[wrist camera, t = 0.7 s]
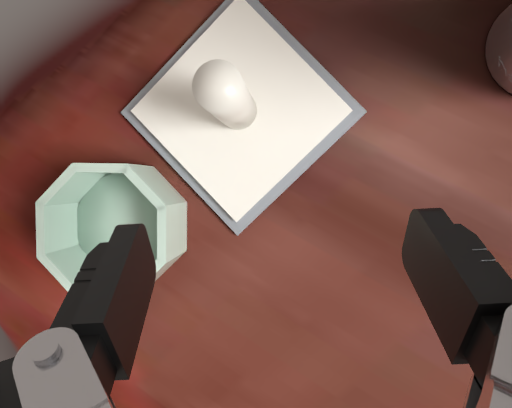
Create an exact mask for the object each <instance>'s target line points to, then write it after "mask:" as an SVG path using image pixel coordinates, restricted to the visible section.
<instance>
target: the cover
mask: <svg viewBox="0 0 512 408" xmlns="http://www.w3.org/2000/svg"><path fill="white" fill-rule="evenodd" d="M352 111H353V110H352V109H351V108H350V107H349V106H348V105H347V104H346V103H345V102H344V101H343V100H342V99H341V98H340V97H339V96H338V95H337V93H336V92H335V91H334V90H333V89H332V88H331V87H330V86H329V85H328V84H327V83H326V82H325V81H324V80H323V79H322V78H321V77H320V76H319V75H318V74H317V73H316V72H315V71H314V70H313V69H312V68H311V67H310V66H309V65H308V64H307V63H306V62H305V61H304V60H303V59H302V58H301V57H300V56H299V55H298V54H297V53H296V52H295V51H294V50H293V49H292V48H291V46H290V45H289V44H288V43H287V42H286V41H285V40H284V39H283V38H282V37H281V36H280V35H279V34H278V33H277V32H276V31H275V30H274V29H273V28H272V27H271V26H270V25H269V24H268V23H267V22H266V21H265V20H264V19H263V18H262V17H261V16H260V15H259V14H258V13H257V12H256V11H255V10H254V9H253V8H252V7H251V6H250V5H249V4H248V3H247V2H246V1H245V0H234V1H233V2H232V3H231V4H230V5H229V6H228V7H227V9H226V10H225V11H224V12H223V13H222V14H221V15H220V16H219V17H218V18H217V19H216V20H215V21H214V22H213V23H212V25H211V26H210V27H209V28H208V29H207V30H206V31H205V32H204V33H203V34H202V35H201V36H200V37H199V38H198V39H197V41H196V42H195V43H194V44H193V45H192V46H191V47H190V48H189V49H188V50H187V51H186V52H185V53H184V54H183V55H182V57H181V58H180V59H179V60H178V61H177V62H176V63H175V64H174V65H173V66H172V67H171V68H170V69H169V70H168V71H167V73H166V74H165V75H164V76H163V77H162V78H161V79H160V80H159V81H158V82H157V83H156V84H155V85H154V86H153V87H152V89H151V90H150V91H149V92H148V93H147V94H146V95H145V96H144V97H143V98H142V99H141V100H140V101H139V102H138V103H137V105H136V106H135V107H134V108H133V109H132V110H131V112H132V113H133V114H134V115H135V116H136V117H137V118H138V119H139V120H140V121H141V122H142V124H143V125H144V126H145V127H146V128H147V129H148V130H149V131H150V132H151V133H152V134H153V135H154V136H155V137H156V138H157V139H158V140H159V141H160V142H161V144H162V145H163V146H164V147H165V148H166V149H167V150H168V151H169V152H170V153H171V154H172V155H173V156H174V157H175V158H176V159H177V160H178V161H179V162H180V164H181V165H182V166H183V167H184V168H185V169H186V170H187V171H188V172H189V173H190V174H191V175H192V176H193V177H194V178H195V179H196V180H197V181H198V182H199V184H200V185H201V186H202V187H203V188H204V189H205V190H206V191H207V192H208V193H209V194H210V195H211V196H212V197H213V198H214V199H215V200H216V201H217V202H218V204H219V205H220V206H221V207H222V208H223V209H224V210H225V211H226V212H227V213H228V214H229V215H230V216H231V217H232V218H233V219H234V220H235V221H236V222H238V221H239V220H240V219H241V218H242V217H243V216H244V215H245V214H246V213H247V212H248V211H249V210H250V209H251V208H252V207H253V206H254V205H255V204H256V203H257V202H258V201H259V200H260V199H261V198H263V197H264V196H265V195H266V194H267V193H268V192H269V191H270V190H271V189H272V188H273V187H274V186H275V185H276V184H277V183H278V182H279V181H280V180H281V179H282V178H283V177H284V176H285V175H286V174H287V173H288V172H290V171H291V170H292V169H293V168H294V167H295V166H296V165H297V164H298V163H299V162H300V161H301V160H302V159H303V158H304V157H305V156H306V155H307V154H308V153H309V152H310V151H311V150H312V149H313V148H314V147H315V146H317V145H318V144H319V143H320V142H321V141H322V140H323V139H324V138H325V137H326V136H327V135H328V134H329V133H330V132H331V131H332V130H333V129H334V128H335V127H336V126H337V125H338V124H339V123H340V122H341V121H342V120H344V119H345V118H346V117H347V116H348V115H349V114H350V113H351V112H352Z"/></svg>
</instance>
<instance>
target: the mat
mask: <svg viewBox="0 0 512 408" xmlns="http://www.w3.org/2000/svg"><path fill="white" fill-rule="evenodd" d="M233 1H234V0H225V1H224V2H223V3H222V4H221V5H220V7H219V8H218V9H217V10H216V11H215V12H214V13H213V14H212V15H211V16H210V17H209V18H208V19H207V20H206V21H205V23H204V24H203V25H202V26H201V27H200V28H199V29H198V30H197V31H196V32H195V33H194V34H193V35H192V36H191V38H190V39H189V40H188V41H187V42H186V43H185V44H184V45H183V46H182V47H181V48H180V49H179V50H178V51H177V53H176V54H175V55H174V56H173V57H172V58H171V59H170V60H169V61H168V62H167V63H166V64H165V65H164V66H163V68H162V69H161V70H160V71H159V72H158V73H157V74H156V75H155V76H154V77H153V78H152V79H151V80H150V81H149V83H148V84H147V85H146V86H145V87H144V88H143V89H142V90H141V91H140V92H139V93H138V94H137V95H136V96H135V98H134V99H133V100H132V101H131V102H130V103H129V104H128V105H127V106H126V107H125V108H124V109H123V110H122V111H121V113H122V115H123V116H124V117H125V118H126V119H127V120H128V121H129V122H130V123H131V124H132V125H133V126H134V127H135V128H136V129H137V130H138V131H139V132H140V133H141V135H142V136H143V137H144V138H145V139H146V140H147V141H148V142H149V143H150V144H151V145H152V146H153V147H154V148H155V149H156V150H157V151H158V152H159V154H160V155H161V156H162V157H163V158H164V159H165V160H166V161H167V162H168V163H169V164H170V165H171V166H172V167H173V168H174V169H175V170H176V171H177V172H178V174H179V175H180V176H181V177H182V178H183V179H184V180H185V181H186V182H187V183H188V184H189V185H190V186H191V187H192V188H193V189H194V190H195V191H196V193H197V194H198V195H199V196H200V197H201V198H202V199H203V200H204V201H205V202H206V203H207V204H208V205H209V206H210V207H211V208H212V209H213V210H214V211H215V213H216V214H217V215H218V216H219V217H220V218H221V219H222V220H223V221H224V222H225V223H226V224H227V225H228V226H229V227H230V228H231V229H232V230H233V231H234V233H235V234H236V235H237V236H238V235H239V234H240V233H241V232H242V231H243V230H244V229H245V228H246V227H247V226H248V225H249V224H250V223H251V222H252V221H253V220H254V219H256V218H257V217H258V216H259V215H260V214H261V213H262V212H263V211H264V210H265V209H266V208H267V207H268V206H269V205H270V204H271V203H272V202H273V201H274V200H275V199H276V198H277V197H279V196H280V195H281V194H282V193H283V192H284V191H285V190H286V189H287V188H288V187H289V186H290V185H291V184H292V183H293V182H294V181H295V180H296V179H297V178H298V177H299V176H300V175H302V174H303V173H304V172H305V171H306V170H307V169H308V168H309V167H310V166H311V165H312V164H313V163H314V162H315V161H316V160H317V159H318V158H319V157H320V156H321V155H322V154H323V153H325V152H326V151H327V150H328V149H329V148H330V147H331V146H332V145H333V144H334V143H335V142H336V141H337V140H338V139H339V138H340V137H341V136H342V135H343V134H344V133H345V132H346V131H348V130H349V129H350V128H351V127H352V126H353V125H354V124H355V123H356V122H357V121H358V120H359V119H360V118H361V117H362V116H363V115H364V114H365V113H366V112H367V111H366V110H365V109H364V108H363V107H362V106H361V105H360V104H359V103H358V102H357V101H356V100H355V99H354V98H353V97H352V96H351V95H350V94H349V93H348V92H347V91H346V90H345V89H344V88H343V87H342V86H341V85H340V84H339V83H338V82H337V81H336V80H335V78H334V77H333V76H332V75H331V74H330V73H329V72H328V71H327V70H326V69H325V68H324V67H323V66H322V65H321V64H320V63H319V62H318V61H317V60H316V59H315V58H314V57H313V56H312V55H311V54H310V53H309V52H308V51H307V50H306V49H305V48H304V47H303V46H302V45H301V44H300V43H299V42H298V41H297V40H296V39H295V38H294V37H293V36H292V35H291V34H290V33H289V32H288V31H287V30H286V29H285V28H284V26H283V25H282V24H281V23H280V22H279V21H278V20H277V19H276V18H275V17H274V16H273V15H272V14H271V13H270V12H269V11H268V10H267V9H266V8H265V7H264V6H263V5H262V4H261V3H260V2H259V1H258V0H245V1H246V2H247V3H248V4H249V5H250V6H251V7H252V8H253V9H254V10H255V11H256V12H257V13H258V14H259V15H260V16H261V17H262V18H263V19H264V20H265V21H266V22H267V23H268V24H269V25H270V26H271V27H272V28H273V29H274V30H275V31H276V32H277V33H278V34H279V35H280V36H281V37H282V38H283V39H284V40H285V41H286V42H287V43H288V44H289V45H290V46H291V48H292V49H293V50H294V51H295V52H296V53H297V54H298V55H299V56H300V57H301V58H302V59H303V60H304V61H305V62H306V63H307V64H308V65H309V66H310V67H311V68H312V69H313V70H314V71H315V72H316V73H317V74H318V75H319V76H320V77H321V78H322V79H323V80H324V81H325V82H326V83H327V84H328V85H329V86H330V87H331V88H332V89H333V90H334V91H335V92H336V93H337V95H338V96H339V97H340V98H341V99H342V100H343V101H344V102H345V103H346V104H347V105H348V106H349V107H350V108H351V109H352V110H353V111H352V112H351V113H350V114H349V115H348V116H347V117H346V118H345V119H344V120H342V121H341V122H340V123H339V124H338V125H337V126H336V127H335V128H334V129H333V130H332V131H331V132H330V133H329V134H328V135H327V136H326V137H325V138H324V139H323V140H322V141H321V142H320V143H319V144H318V145H317V146H315V147H314V148H313V149H312V150H311V151H310V152H309V153H308V154H307V155H306V156H305V157H304V158H303V159H302V160H301V161H300V162H299V163H298V164H297V165H296V166H295V167H294V168H293V169H292V170H291V171H290V172H288V173H287V174H286V175H285V176H284V177H283V178H282V179H281V180H280V181H279V182H278V183H277V184H276V185H275V186H274V187H273V188H272V189H271V190H270V191H269V192H268V193H267V194H266V195H265V196H264V197H263V198H261V199H260V200H259V201H258V202H257V203H256V204H255V205H254V206H253V207H252V208H251V209H250V210H249V211H248V212H247V213H246V214H245V215H244V216H243V217H242V218H241V219H240V220H239V221H238V222H236V221H235V220H234V219H233V218H232V217H231V216H230V215H229V214H228V213H227V212H226V211H225V210H224V209H223V208H222V207H221V206H220V205H219V204H218V202H217V201H216V200H215V199H214V198H213V197H212V196H211V195H210V194H209V193H208V192H207V191H206V190H205V189H204V188H203V187H202V186H201V185H200V184H199V182H198V181H197V180H196V179H195V178H194V177H193V176H192V175H191V174H190V173H189V172H188V171H187V170H186V169H185V168H184V167H183V166H182V165H181V164H180V162H179V161H178V160H177V159H176V158H175V157H174V156H173V155H172V154H171V153H170V152H169V151H168V150H167V149H166V148H165V147H164V146H163V145H162V144H161V142H160V141H159V140H158V139H157V138H156V137H155V136H154V135H153V134H152V133H151V132H150V131H149V130H148V129H147V128H146V127H145V126H144V125H143V124H142V122H141V121H140V120H139V119H138V118H137V117H136V116H135V115H134V114H133V113H132V112H131V110H132V109H133V108H134V107H135V106H136V105H137V103H138V102H139V101H140V100H141V99H142V98H143V97H144V96H145V95H146V94H147V93H148V92H149V91H150V90H151V89H152V87H153V86H154V85H155V84H156V83H157V82H158V81H159V80H160V79H161V78H162V77H163V76H164V75H165V74H166V73H167V71H168V70H169V69H170V68H171V67H172V66H173V65H174V64H175V63H176V62H177V61H178V60H179V59H180V58H181V57H182V55H183V54H184V53H185V52H186V51H187V50H188V49H189V48H190V47H191V46H192V45H193V44H194V43H195V42H196V41H197V39H198V38H199V37H200V36H201V35H202V34H203V33H204V32H205V31H206V30H207V29H208V28H209V27H210V26H211V25H212V23H213V22H214V21H215V20H216V19H217V18H218V17H219V16H220V15H221V14H222V13H223V12H224V11H225V10H226V9H227V7H228V6H229V5H230V4H231V3H232V2H233Z"/></svg>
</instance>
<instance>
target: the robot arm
mask: <svg viewBox="0 0 512 408" xmlns="http://www.w3.org/2000/svg"><path fill="white" fill-rule="evenodd" d="M485 57H486V61H487V66H488V68H489V71H490V73H491V75H492V77H493V78H494V79H495V81H496V82H497V83H498V84H499V85H500V86H501V87H502V88H503V89H505V90H506V91H507V92H509V93H511V94H512V4H511V5H510V6H509V7H507V8H506V9H505V10H504V11H503V12H502V13H501V14H500V15H499V16H498V18H497V19H496V20H495V22H494V23H493V25H492V27H491V29H490V31H489V34H488V37H487V41H486V55H485ZM402 260H403V264H404V267H405V270H406V272H407V274H408V276H409V278H410V280H411V282H412V284H413V286H414V288H415V290H416V292H417V294H418V296H419V298H420V300H421V302H422V304H423V306H424V308H425V310H426V312H427V314H428V317H429V319H430V321H431V323H432V325H433V327H434V329H435V331H436V333H437V335H438V337H439V339H440V341H441V343H442V345H443V347H444V349H445V351H446V353H447V355H448V357H449V359H450V361H451V363H452V364H469V365H470V367H471V369H472V370H473V372H474V373H473V374H472V376H471V379H470V382H469V386H468V390H467V393H466V397H465V401H464V405H463V408H512V279H511V278H510V277H509V276H508V274H507V273H506V272H505V271H504V269H503V268H502V267H501V265H500V264H499V263H498V262H496V261H495V258H494V257H493V255H492V254H491V253H490V252H489V251H487V248H486V247H485V245H484V244H483V243H482V241H481V240H480V239H479V238H478V236H477V235H476V234H474V233H473V232H471V231H470V230H468V229H467V228H466V227H464V226H463V225H461V224H453V223H452V221H451V220H450V218H449V217H448V216H447V214H446V213H445V212H444V210H443V209H441V208H427V209H414V210H412V212H411V214H410V217H409V221H408V225H407V230H406V234H405V238H404V242H403V247H402ZM155 279H156V263H155V258H154V255H153V251H152V248H151V244H150V241H149V237H148V234H147V230H146V227H145V225H144V224H142V223H141V224H123V225H117V226H116V227H115V229H114V231H113V233H112V235H111V237H110V240H109V242H103V243H99V244H98V245H97V246H96V247H95V248H94V249H93V250H92V251H91V252H89V253H88V254H87V256H86V258H85V260H84V262H83V263H82V265H81V267H80V272H78V273H77V275H76V277H75V279H74V284H72V285H71V287H70V289H69V291H68V293H67V295H66V297H65V299H64V301H63V303H62V305H61V307H60V309H59V311H58V313H57V315H56V317H55V319H54V321H53V323H52V325H51V327H50V329H48V330H45V331H43V332H41V333H39V334H37V335H36V336H34V337H33V338H31V339H30V340H29V341H28V342H26V343H25V344H24V345H23V346H22V348H21V349H20V350H19V351H18V353H17V354H16V356H15V357H13V358H11V359H8V360H5V361H2V362H0V408H116V406H115V404H114V402H113V400H112V398H111V396H110V394H111V390H112V387H113V384H114V380H129V377H130V374H131V370H132V366H133V362H134V359H135V355H136V351H137V347H138V344H139V340H140V336H141V332H142V328H143V325H144V321H145V317H146V313H147V310H148V306H149V302H150V298H151V294H152V291H153V287H154V283H155Z"/></svg>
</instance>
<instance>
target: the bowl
mask: <svg viewBox="0 0 512 408" xmlns="http://www.w3.org/2000/svg"><path fill="white" fill-rule="evenodd" d="M35 206H36V258H37V259H38V260H39V261H40V262H41V263H42V264H43V265H44V266H45V267H46V268H47V270H48V271H49V272H50V273H51V274H52V275H53V276H54V277H55V278H56V279H57V280H58V281H59V283H60V284H61V285H62V286H63V287H64V288H65V289H66V290H67V291H69V289H70V287H71V285H72V284H74V279H75V277H76V275H77V273H78V272H80V267H81V265H82V263H83V262H84V260H85V258H86V256H87V254H88V253H89V252H91V251H92V250H93V249H94V248H95V247H96V246H97V245H98V244H99V243H103V242H109V240H110V237H111V235H112V233H113V231H114V229H115V227H116V226H117V225H123V224H141V223H142V224H144V225H145V227H146V230H147V234H148V237H149V241H150V244H151V248H152V251H153V255H154V258H155V263H156V279H155V281H156V280H157V279H158V278H159V277H160V276H161V275H162V274H163V273H164V272H165V271H166V270H167V269H168V268H169V267H170V266H171V265H172V264H173V263H174V262H175V261H176V260H177V259H178V258H179V257H180V256H181V255H183V254H184V253H185V252H186V251H187V201H186V200H185V199H184V198H183V197H182V196H181V195H180V194H179V193H178V192H177V191H176V190H175V189H174V187H173V186H172V185H171V184H170V183H169V182H168V181H167V180H166V179H165V178H164V177H163V176H162V175H161V174H160V173H159V172H158V171H157V170H156V168H155V167H154V166H146V165H136V164H127V163H126V164H121V163H72V164H71V165H70V166H69V167H68V168H67V169H66V170H65V171H64V172H63V173H62V174H61V175H60V176H59V177H58V179H57V180H56V181H55V182H54V183H53V184H52V185H51V186H50V187H49V188H48V189H47V190H46V191H45V192H44V194H43V195H42V196H41V197H40V198H39V199H38V200H37V201H36V202H35Z"/></svg>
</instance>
